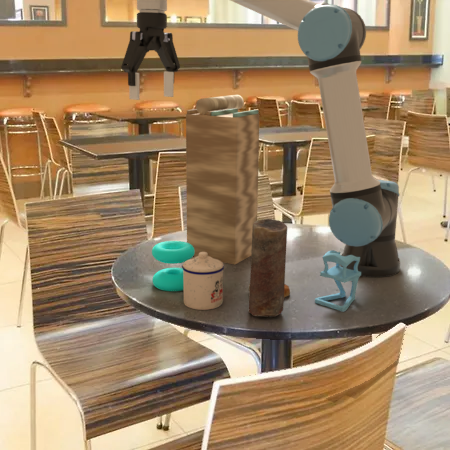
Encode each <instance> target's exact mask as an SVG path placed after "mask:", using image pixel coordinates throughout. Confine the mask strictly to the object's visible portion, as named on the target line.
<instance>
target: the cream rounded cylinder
mask: <svg viewBox="0 0 450 450" xmlns="http://www.w3.org/2000/svg"><path fill="white" fill-rule="evenodd" d="M244 103H245V102H244V98H243V96H241V95H240V94H231V95H222V96H214V97H204V98H203V97H202V98H199V99H198V100H197V102H196V103H195V104H196V105H195V109H197V111H198V112H199V113H200V114H207V112H208V111H215V110H222V109H229V108H234V109H235V108H236V109H238V110H240V109H242V108H243V107H244Z"/></svg>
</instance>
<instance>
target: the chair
mask: <svg viewBox="0 0 450 450" xmlns="http://www.w3.org/2000/svg"><path fill="white" fill-rule="evenodd" d="M322 261H323V265H324V269H323V270H322V271H320V272H319V276H320V277H324V278H329V279H332V280H334V282H335V284H336V286H337V288H338V290H339V292H337V293H332V294H329V295H324V296H318V297H316V298H314V303H315V304H317V305H321V306H323V307H327V308H331V309H334V310H337V311H340V312H346V311H347V310H348V309H349V307H350V306H351V304H352V303H353V302H354V301H355V300H356V291H357V287H358V283H359V279H360V277H362V276H361V272H359V271H358V268H357V267H358V264H359V261H360V257H356V256H353V255H348V256H342V253H341V252H340V251H336V250H332V249H331V250H328V251H326V252H325V253H324V255H322ZM353 261H356V263H355V265H354V270H350V269H347V268H346V267H347V266H348V265H349V264H350V263H351V262H353ZM328 262H330V263H335V265H334V266H332V267H330V268H329V264H328ZM340 265H342V266H343V267H341V266H340ZM348 282H351V287H350V293H349V296H348V298H347V299H346V301H345V303H344V304H343V305H339V304H336V303H333V302H330V301H332V300H337V299H341V298H345V297H346V296H347V294H346V292H347V291H346V290H345V288H344V287H343V284H342V283H344V284H345V283H346V284H347V283H348Z"/></svg>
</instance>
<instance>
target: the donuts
mask: <svg viewBox="0 0 450 450" xmlns="http://www.w3.org/2000/svg"><path fill="white" fill-rule="evenodd" d="M194 253H195V250H194V247H193V246H192V245H191V244H189V243H187V241H180V240H166V241H161V242H158V243H156V244H155V245H154V246H153V247H152V249H151V254H152V257H153V258H154V259H155V260H156V261H158V262H160V263H163V264H169V265H172V264H173V265H175V264H176V265H177V264H184V262H185V261H187V260H189V259H193V258H194V257H193V256H194ZM152 284H153V286H154V287H155V288H157V289H159V290H161V291H165V292H182V291H184V280H183V269H182V267H167V268H166V267H165V268H163V269H159V270H158V271H157V272H155V273H154V274H153V276H152Z"/></svg>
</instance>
